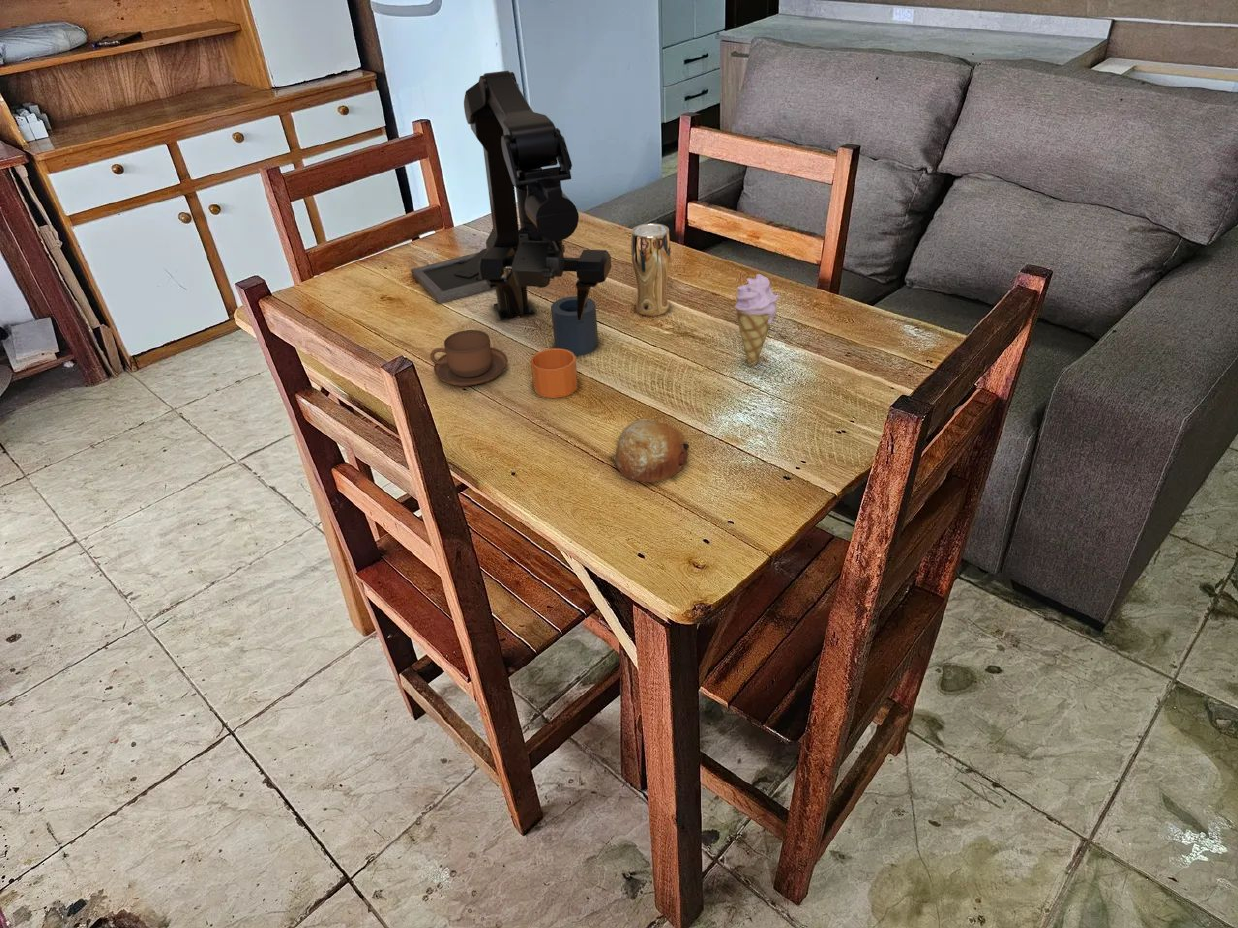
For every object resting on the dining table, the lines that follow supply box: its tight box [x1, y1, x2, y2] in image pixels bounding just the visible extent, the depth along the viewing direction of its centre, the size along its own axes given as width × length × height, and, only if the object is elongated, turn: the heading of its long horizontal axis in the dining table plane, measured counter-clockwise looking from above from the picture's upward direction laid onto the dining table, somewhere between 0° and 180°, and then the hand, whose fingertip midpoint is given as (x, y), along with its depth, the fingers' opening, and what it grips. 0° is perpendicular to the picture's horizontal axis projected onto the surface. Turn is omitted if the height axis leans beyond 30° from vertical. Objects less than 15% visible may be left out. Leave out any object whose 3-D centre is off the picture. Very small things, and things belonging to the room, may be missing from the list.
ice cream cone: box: [734, 273, 782, 366], centre depth 131 cm, size 7×6×15 cm
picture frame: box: [410, 248, 496, 304], centre depth 169 cm, size 16×2×21 cm
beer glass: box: [630, 223, 671, 317], centre depth 149 cm, size 7×7×15 cm
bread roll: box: [613, 417, 690, 483], centre depth 114 cm, size 10×10×8 cm
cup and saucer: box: [429, 329, 508, 387], centre depth 135 cm, size 12×12×6 cm
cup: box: [530, 347, 579, 399], centre depth 131 cm, size 7×7×5 cm
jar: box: [550, 295, 599, 357], centre depth 141 cm, size 7×8×8 cm
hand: (550, 318), depth 126 cm, fingers open, 9 cm apart
